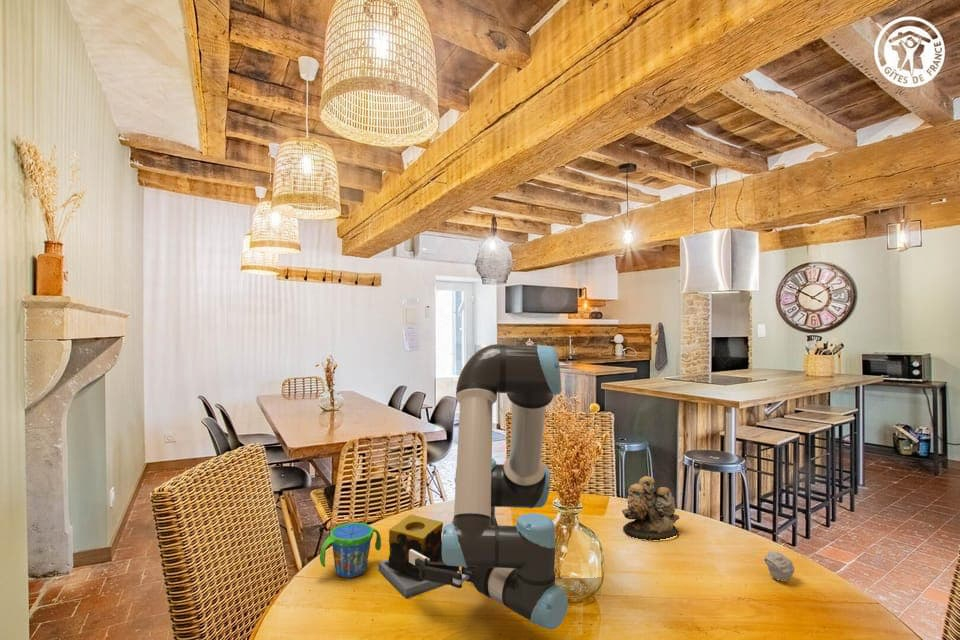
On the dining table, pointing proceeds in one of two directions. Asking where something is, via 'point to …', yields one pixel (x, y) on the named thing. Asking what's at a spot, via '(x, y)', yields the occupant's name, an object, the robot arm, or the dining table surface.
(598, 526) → the dining table surface
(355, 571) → the snack cup
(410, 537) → the candle
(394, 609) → the dining table surface
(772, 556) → the grey rounded lump
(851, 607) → the dining table surface
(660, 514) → the owl figurine
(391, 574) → the tray
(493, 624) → the dining table surface
